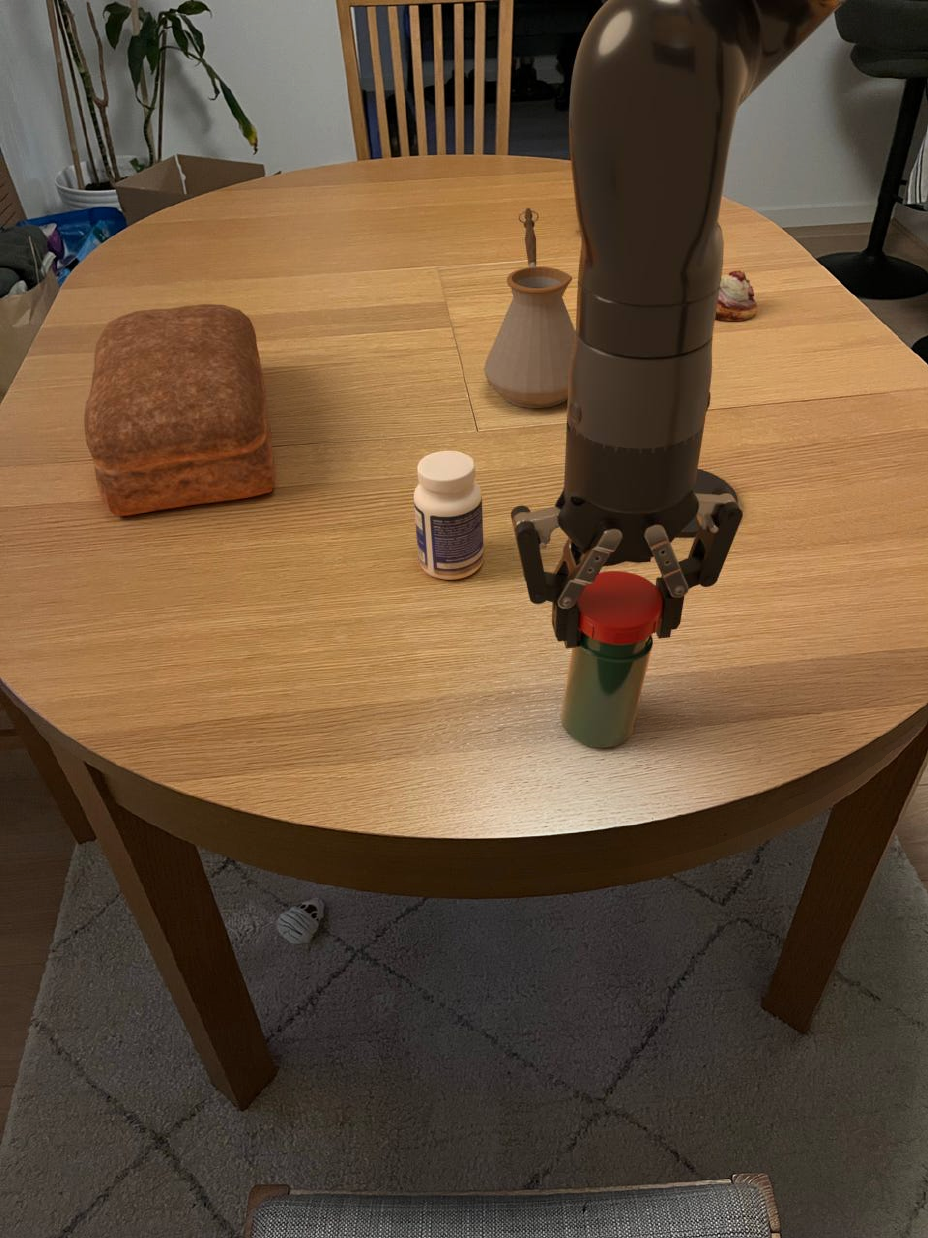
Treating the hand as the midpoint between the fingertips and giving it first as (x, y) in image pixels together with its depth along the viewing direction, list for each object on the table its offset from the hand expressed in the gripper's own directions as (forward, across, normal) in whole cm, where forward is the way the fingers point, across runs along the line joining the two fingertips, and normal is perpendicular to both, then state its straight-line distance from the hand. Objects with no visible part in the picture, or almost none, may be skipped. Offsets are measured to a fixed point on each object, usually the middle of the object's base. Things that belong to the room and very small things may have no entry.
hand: (614, 634), depth 62 cm
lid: (-3, 0, 0) cm, 3 cm away
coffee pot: (+8, -4, -54) cm, 55 cm away
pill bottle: (+8, +9, -20) cm, 23 cm away
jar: (+8, +1, +1) cm, 8 cm away
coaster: (+8, -13, -26) cm, 30 cm away
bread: (+8, +34, -45) cm, 58 cm away
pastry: (+8, -30, -66) cm, 73 cm away
